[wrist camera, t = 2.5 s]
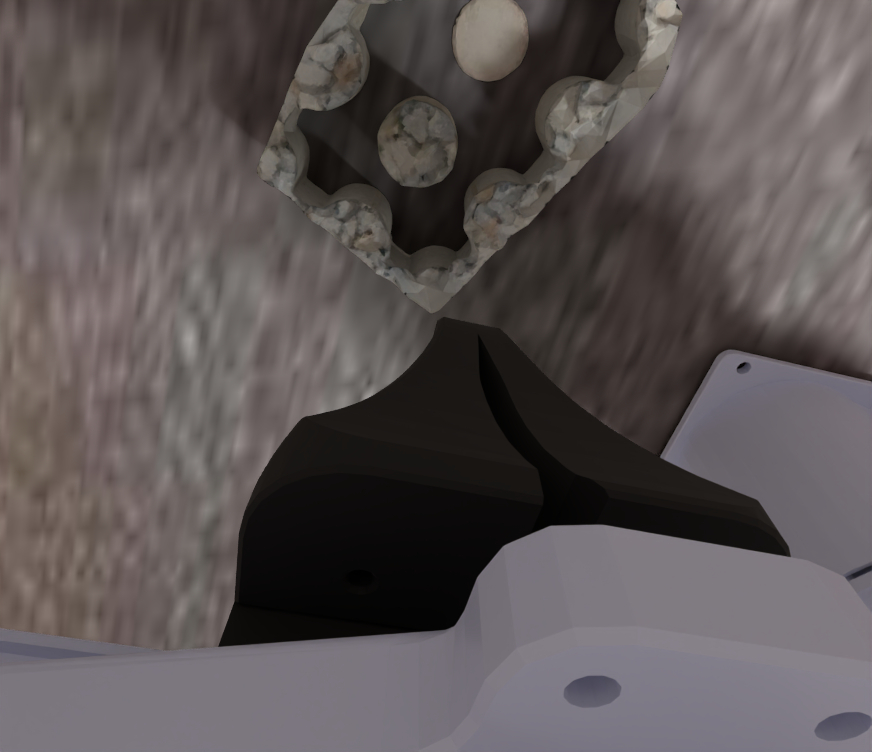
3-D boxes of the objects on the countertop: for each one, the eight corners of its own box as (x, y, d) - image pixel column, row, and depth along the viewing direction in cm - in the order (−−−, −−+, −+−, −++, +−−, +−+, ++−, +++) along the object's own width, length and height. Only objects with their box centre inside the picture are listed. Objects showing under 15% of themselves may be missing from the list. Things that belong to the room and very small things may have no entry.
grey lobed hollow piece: (490, -195, 14) (507, -274, 11) (670, 37, 17) (731, 36, 13) (257, 140, 18) (214, 163, 15) (430, 287, 21) (428, 337, 17)
